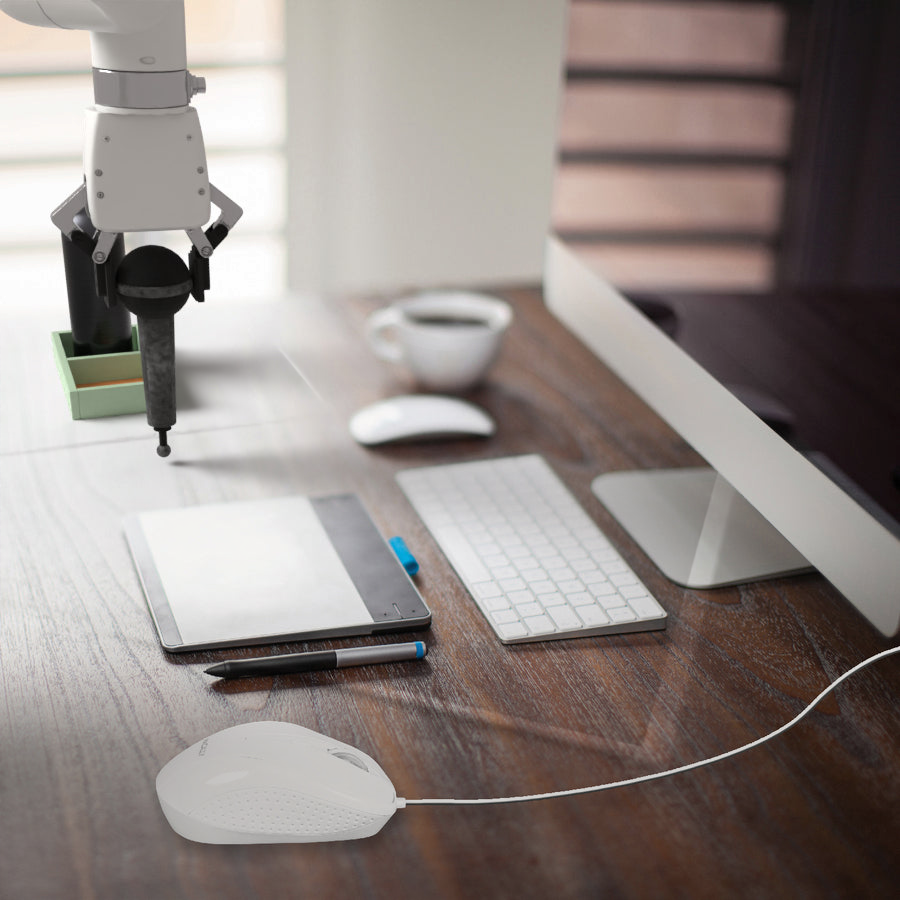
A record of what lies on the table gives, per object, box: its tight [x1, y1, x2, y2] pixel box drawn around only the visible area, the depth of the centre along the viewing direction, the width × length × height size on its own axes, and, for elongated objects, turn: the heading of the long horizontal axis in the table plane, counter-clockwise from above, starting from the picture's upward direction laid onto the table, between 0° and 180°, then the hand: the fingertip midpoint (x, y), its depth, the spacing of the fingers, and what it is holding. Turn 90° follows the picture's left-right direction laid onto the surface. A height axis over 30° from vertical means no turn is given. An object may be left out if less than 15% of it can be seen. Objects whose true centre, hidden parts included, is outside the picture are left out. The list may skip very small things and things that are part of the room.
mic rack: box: [50, 323, 147, 421], centre depth 123 cm, size 10×19×4 cm, turn 23°
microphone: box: [115, 244, 194, 458], centre depth 103 cm, size 7×7×20 cm
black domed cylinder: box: [60, 207, 134, 357], centre depth 124 cm, size 6×6×18 cm
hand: (154, 299), depth 101 cm, fingers closed on microphone, 7 cm apart
